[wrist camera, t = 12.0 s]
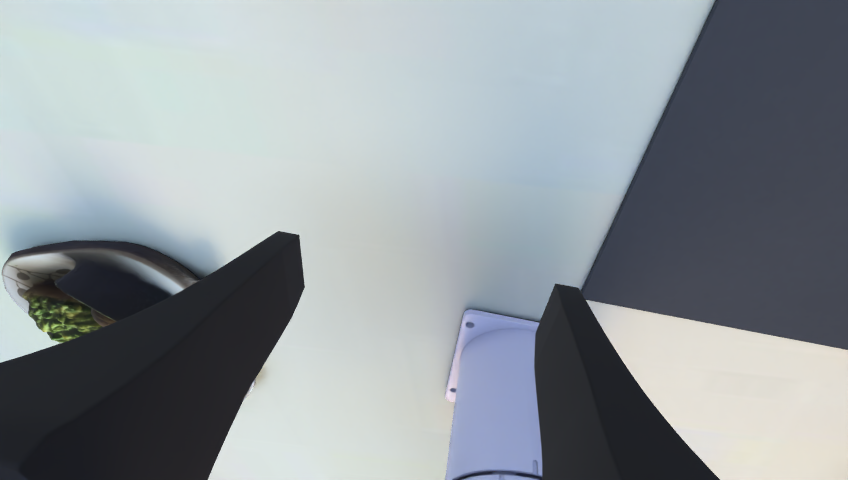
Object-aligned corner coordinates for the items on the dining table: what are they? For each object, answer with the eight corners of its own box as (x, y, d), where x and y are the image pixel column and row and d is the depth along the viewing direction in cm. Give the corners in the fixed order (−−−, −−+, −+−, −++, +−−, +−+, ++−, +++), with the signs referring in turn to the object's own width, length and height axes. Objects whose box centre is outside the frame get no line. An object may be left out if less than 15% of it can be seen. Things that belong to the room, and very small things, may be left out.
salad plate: (308, 412, 36) (285, 467, 33) (141, 401, 40) (105, 448, 37) (204, 230, 25) (152, 281, 22) (-10, 240, 29) (-84, 284, 26)
